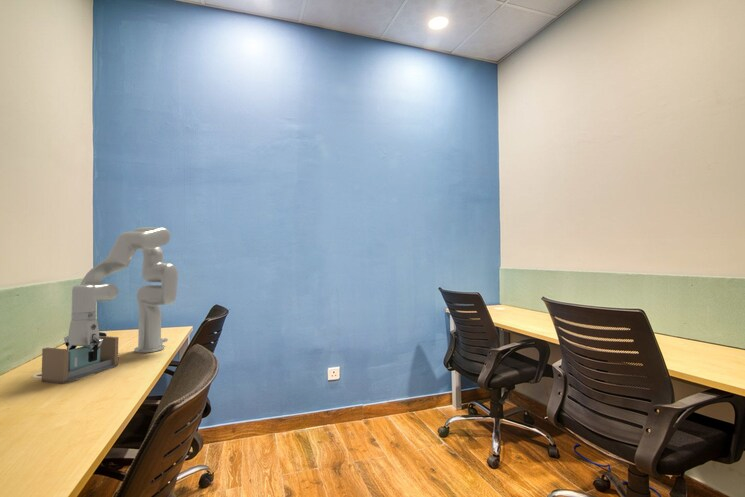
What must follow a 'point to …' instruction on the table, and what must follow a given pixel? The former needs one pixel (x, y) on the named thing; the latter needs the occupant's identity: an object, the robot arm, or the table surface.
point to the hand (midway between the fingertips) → (82, 360)
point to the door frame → (58, 368)
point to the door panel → (80, 358)
